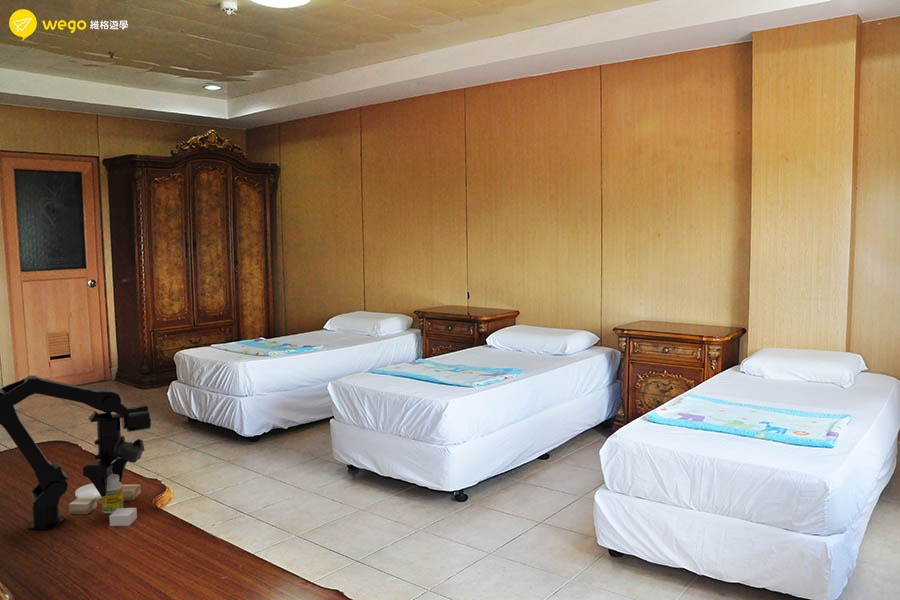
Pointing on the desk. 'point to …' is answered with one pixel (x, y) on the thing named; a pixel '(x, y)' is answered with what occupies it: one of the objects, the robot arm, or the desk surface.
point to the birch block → (83, 505)
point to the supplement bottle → (112, 495)
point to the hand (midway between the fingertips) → (111, 489)
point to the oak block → (131, 491)
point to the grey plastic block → (123, 516)
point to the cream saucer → (87, 491)
